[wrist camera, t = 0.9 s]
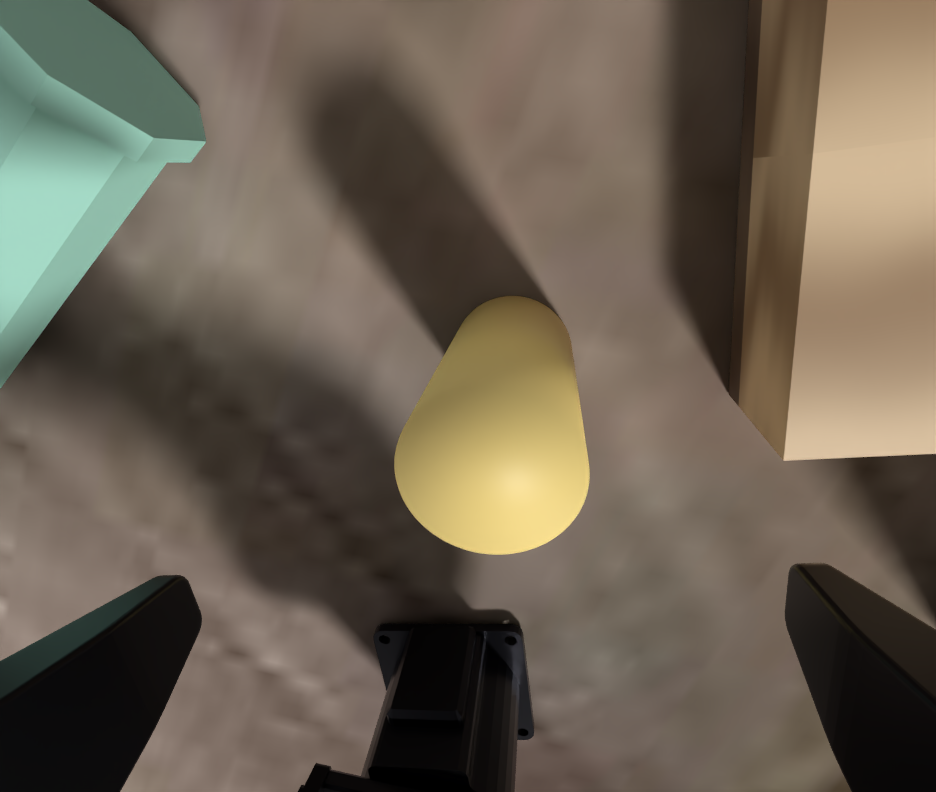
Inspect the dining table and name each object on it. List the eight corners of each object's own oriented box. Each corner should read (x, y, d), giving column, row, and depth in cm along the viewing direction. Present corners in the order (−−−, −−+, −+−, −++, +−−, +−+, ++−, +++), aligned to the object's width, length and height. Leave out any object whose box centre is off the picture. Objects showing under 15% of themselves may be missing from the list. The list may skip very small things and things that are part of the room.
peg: (575, 404, 19) (593, 552, 11) (462, 411, 19) (411, 556, 12) (568, 289, 17) (584, 375, 10) (446, 302, 18) (377, 391, 11)
